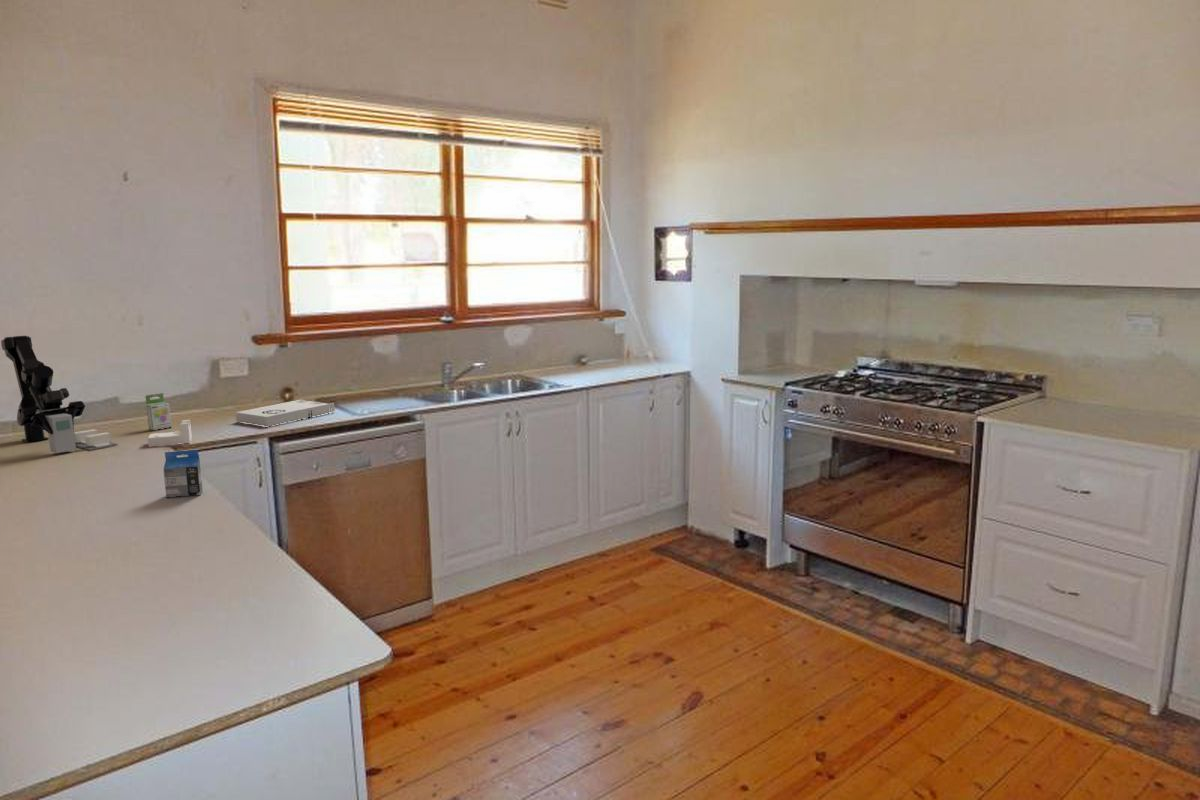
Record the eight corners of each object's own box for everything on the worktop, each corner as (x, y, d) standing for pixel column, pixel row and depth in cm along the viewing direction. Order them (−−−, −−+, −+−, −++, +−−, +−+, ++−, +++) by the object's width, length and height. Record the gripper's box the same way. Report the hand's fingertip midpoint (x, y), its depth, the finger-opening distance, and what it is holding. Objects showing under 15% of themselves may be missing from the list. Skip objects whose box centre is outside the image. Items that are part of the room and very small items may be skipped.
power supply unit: (335, 414, 347) (334, 402, 346) (267, 429, 320) (266, 416, 319) (304, 410, 357) (303, 398, 356) (236, 424, 329) (235, 412, 328)
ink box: (153, 431, 315) (149, 396, 313) (148, 430, 318) (144, 395, 315) (172, 428, 321) (168, 393, 318) (167, 426, 323) (163, 392, 321)
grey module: (50, 451, 282) (46, 416, 280) (69, 447, 287) (65, 413, 284) (56, 453, 279) (52, 418, 277) (76, 449, 284) (71, 415, 282)
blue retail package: (165, 498, 230) (161, 455, 228) (169, 494, 234) (164, 451, 232) (200, 495, 232) (196, 452, 230) (203, 491, 236) (198, 449, 234)
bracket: (192, 440, 301) (190, 419, 300) (190, 444, 295) (187, 423, 293) (151, 443, 297) (149, 422, 295) (148, 448, 290) (146, 426, 289)
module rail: (67, 444, 295) (66, 432, 295) (94, 439, 303) (93, 427, 302) (90, 450, 286) (88, 438, 285) (117, 445, 293) (116, 433, 292)
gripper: (17, 385, 273) (36, 422, 269) (79, 377, 288) (98, 412, 284) (11, 406, 279) (29, 442, 275) (71, 397, 294) (90, 432, 290)
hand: (62, 431), depth 281 cm, fingers closed on grey module, 6 cm apart
